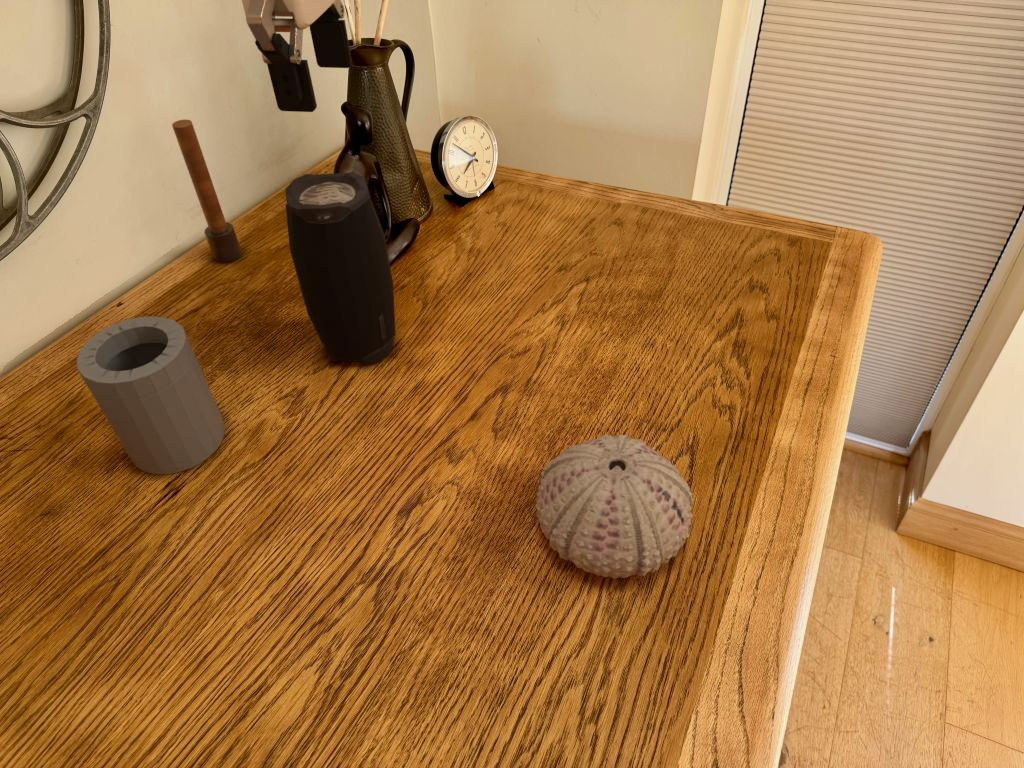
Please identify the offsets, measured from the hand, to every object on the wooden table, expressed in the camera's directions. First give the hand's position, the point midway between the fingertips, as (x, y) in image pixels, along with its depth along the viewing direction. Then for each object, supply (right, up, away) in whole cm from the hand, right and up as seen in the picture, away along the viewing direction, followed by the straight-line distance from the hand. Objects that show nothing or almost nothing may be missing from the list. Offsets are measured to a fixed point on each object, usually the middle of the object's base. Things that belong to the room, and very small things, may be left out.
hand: (317, 87), depth 64 cm
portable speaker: (0, -22, +18) cm, 29 cm away
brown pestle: (-21, -9, +32) cm, 39 cm away
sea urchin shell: (+26, -38, 0) cm, 46 cm away
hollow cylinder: (-16, -32, +8) cm, 36 cm away
